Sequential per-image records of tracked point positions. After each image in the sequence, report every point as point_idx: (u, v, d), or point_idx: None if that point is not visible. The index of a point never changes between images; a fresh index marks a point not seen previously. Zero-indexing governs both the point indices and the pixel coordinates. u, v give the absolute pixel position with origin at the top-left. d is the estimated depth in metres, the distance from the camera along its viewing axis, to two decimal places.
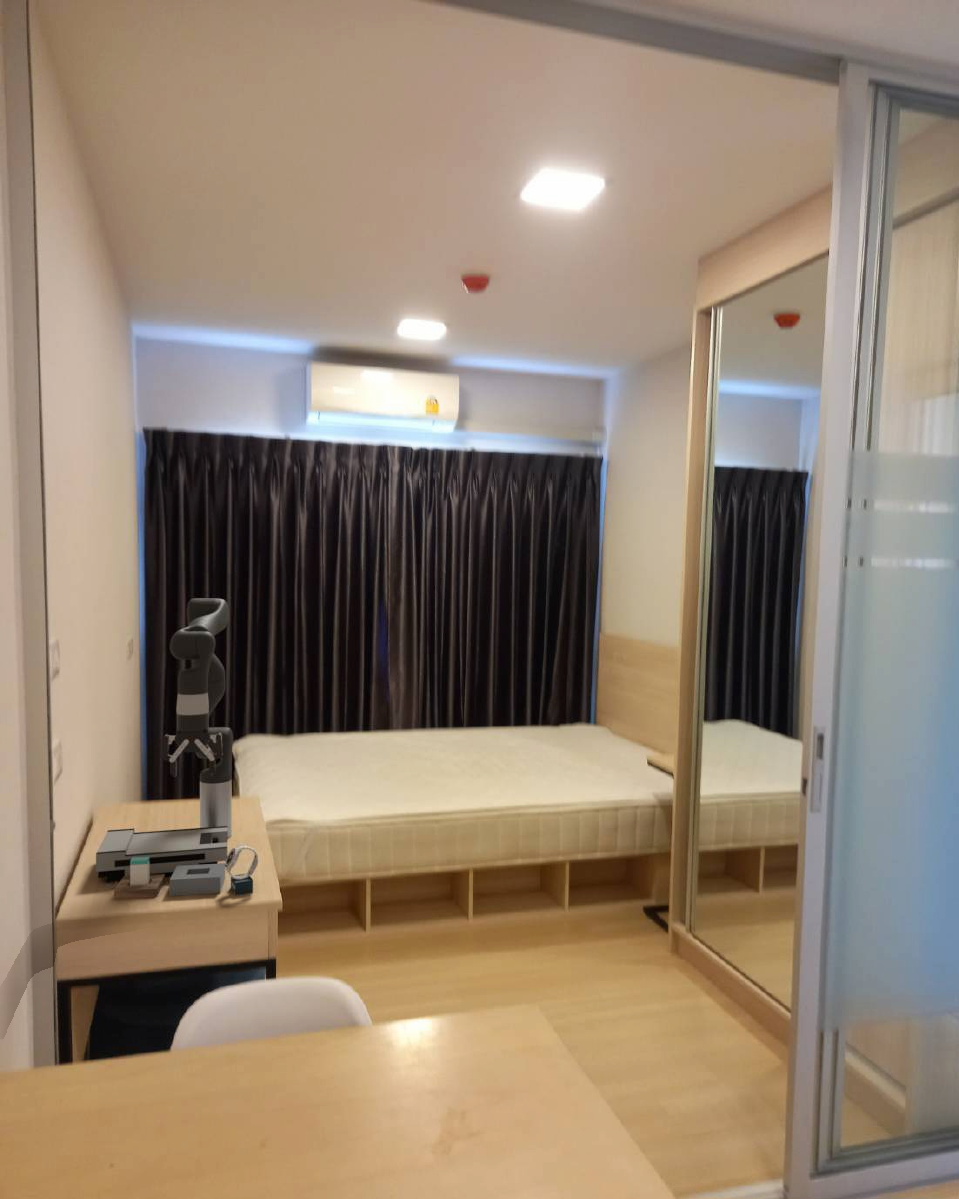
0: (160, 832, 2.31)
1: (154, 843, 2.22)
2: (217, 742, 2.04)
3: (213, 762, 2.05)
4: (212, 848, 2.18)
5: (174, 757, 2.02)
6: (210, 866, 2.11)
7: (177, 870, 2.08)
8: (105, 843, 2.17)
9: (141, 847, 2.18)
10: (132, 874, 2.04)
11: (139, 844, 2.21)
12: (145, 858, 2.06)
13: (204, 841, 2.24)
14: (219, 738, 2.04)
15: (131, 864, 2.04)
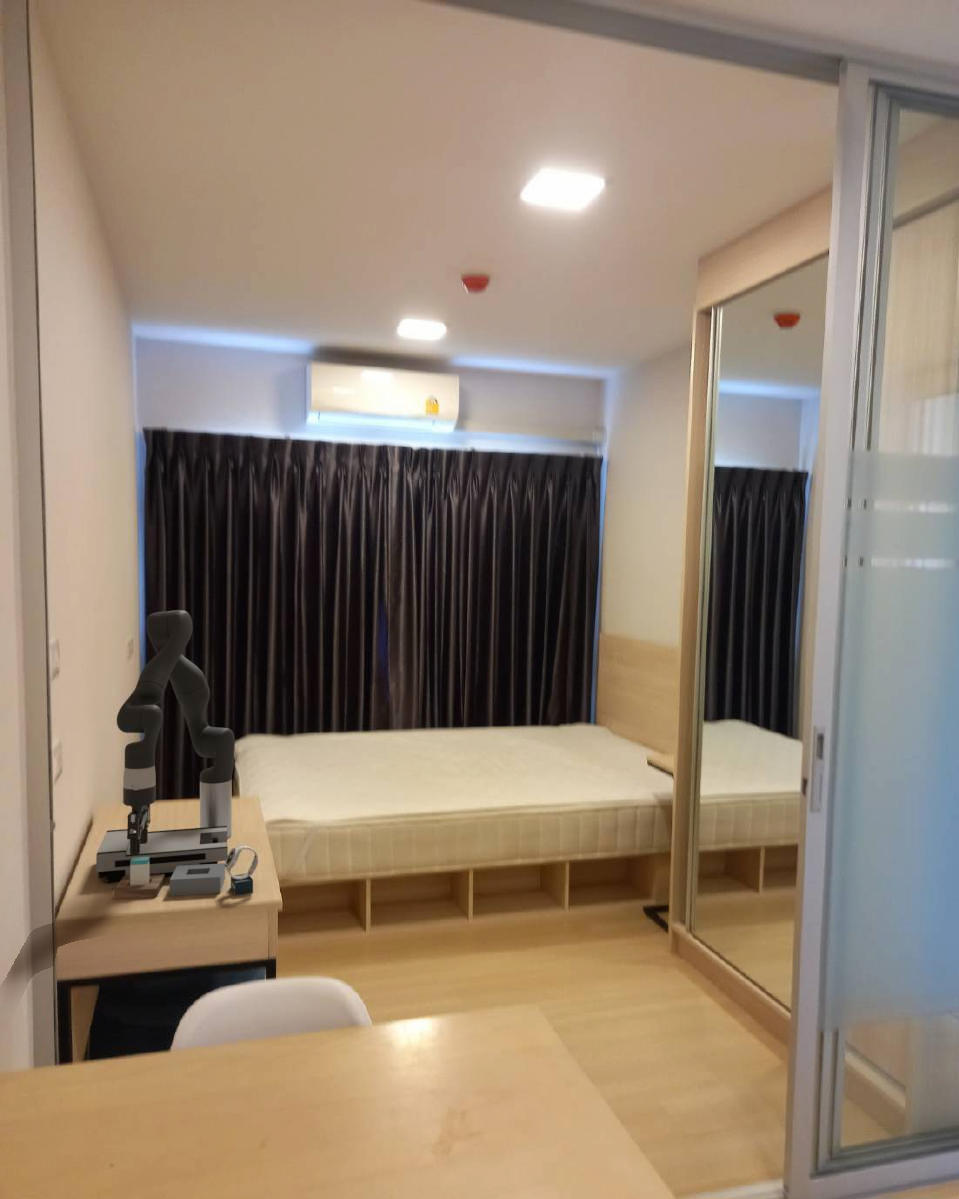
0: (159, 832, 2.31)
1: (154, 843, 2.22)
2: (149, 808, 2.11)
3: None
4: (212, 847, 2.18)
5: (140, 833, 2.01)
6: (210, 866, 2.11)
7: (177, 870, 2.08)
8: (105, 844, 2.17)
9: (141, 847, 2.18)
10: (132, 874, 2.04)
11: None
12: (145, 858, 2.06)
13: (204, 841, 2.24)
14: (149, 804, 2.12)
15: (131, 864, 2.04)
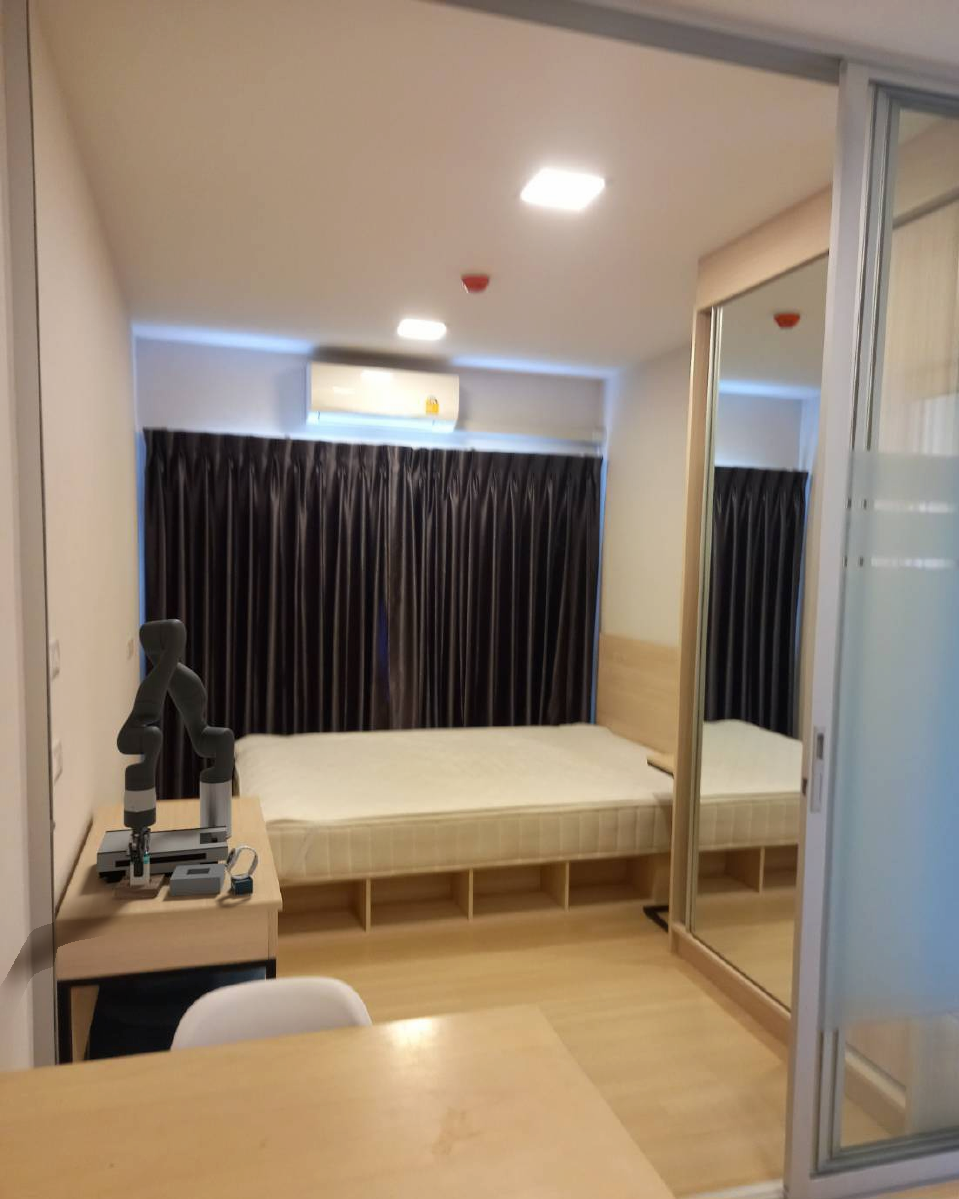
0: (159, 832, 2.31)
1: (154, 843, 2.22)
2: None
3: None
4: (213, 847, 2.19)
5: (143, 855, 2.04)
6: (210, 866, 2.11)
7: (177, 870, 2.08)
8: (105, 844, 2.17)
9: None
10: (132, 874, 2.04)
11: None
12: (145, 858, 2.06)
13: (204, 841, 2.24)
14: None
15: (131, 864, 2.04)
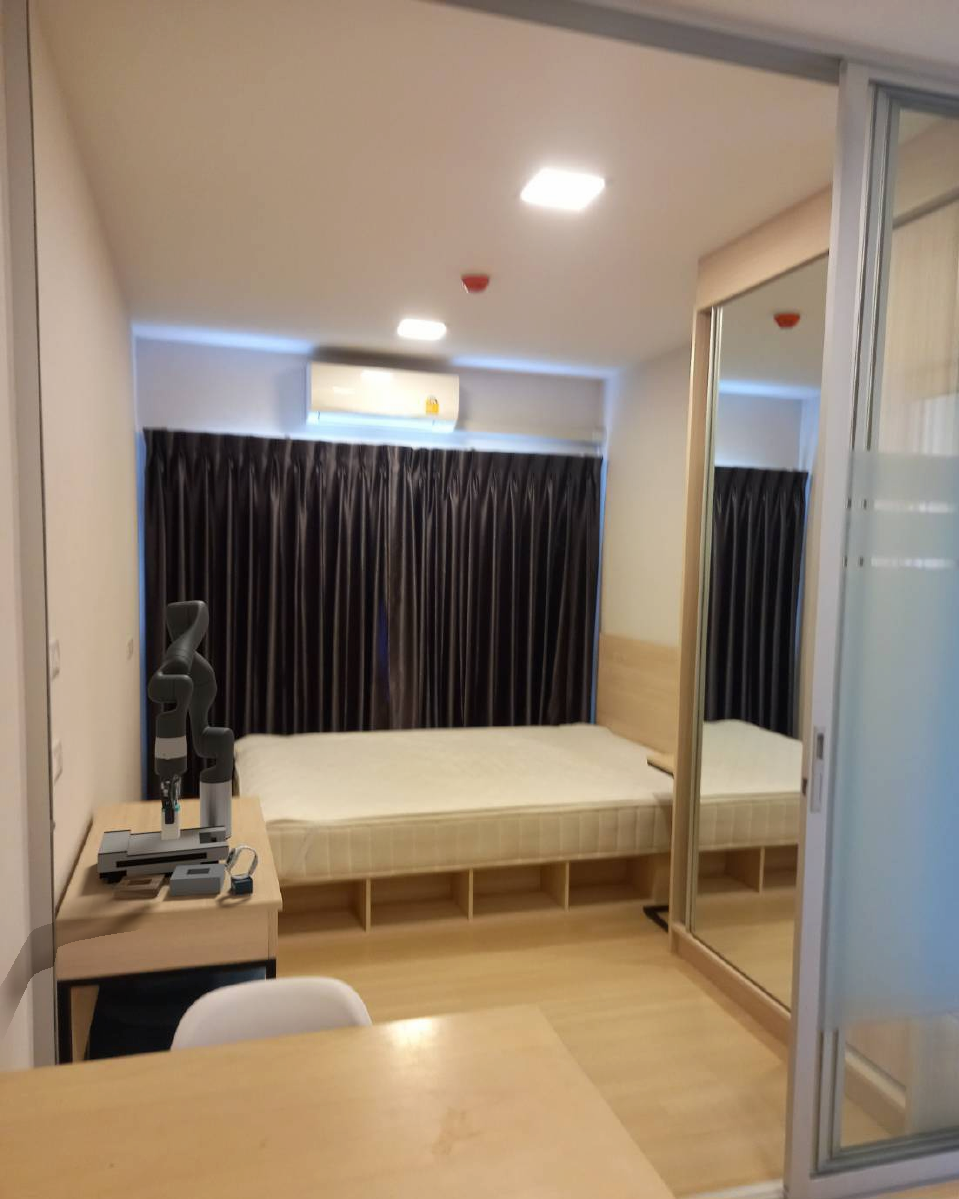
0: (157, 833, 2.31)
1: (154, 843, 2.21)
2: (179, 784, 2.12)
3: None
4: (213, 847, 2.19)
5: (174, 803, 2.05)
6: (210, 866, 2.11)
7: (177, 870, 2.08)
8: (105, 845, 2.16)
9: (141, 848, 2.17)
10: (163, 821, 2.05)
11: (138, 844, 2.20)
12: (176, 806, 2.07)
13: (203, 840, 2.24)
14: (180, 781, 2.13)
15: (162, 811, 2.05)
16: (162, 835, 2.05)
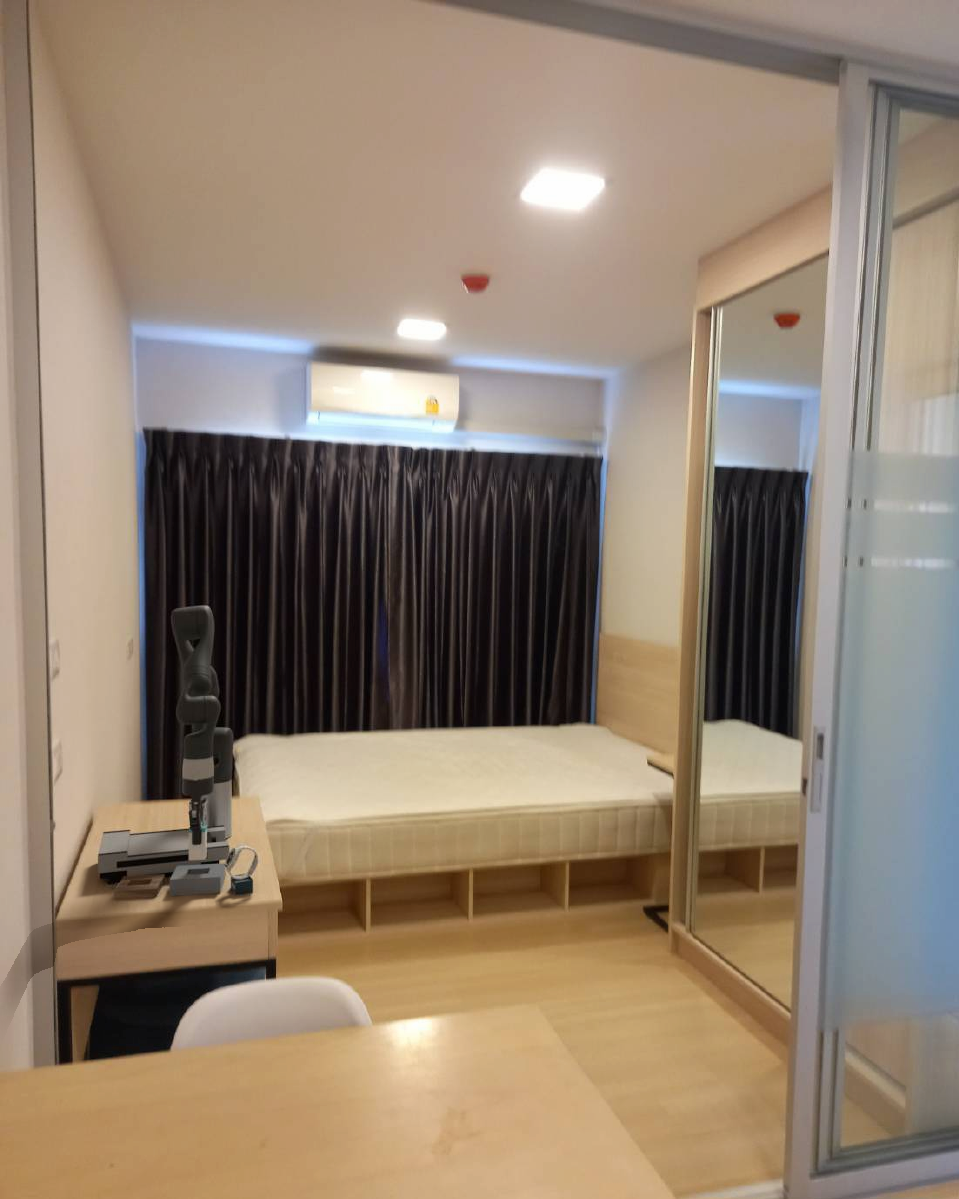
0: (156, 833, 2.31)
1: (153, 843, 2.21)
2: None
3: None
4: (214, 846, 2.19)
5: (201, 823, 2.06)
6: (210, 866, 2.11)
7: (177, 870, 2.08)
8: (105, 845, 2.16)
9: (141, 848, 2.17)
10: (190, 842, 2.06)
11: (138, 845, 2.20)
12: (203, 826, 2.08)
13: None
14: None
15: (189, 832, 2.06)
16: (189, 856, 2.06)
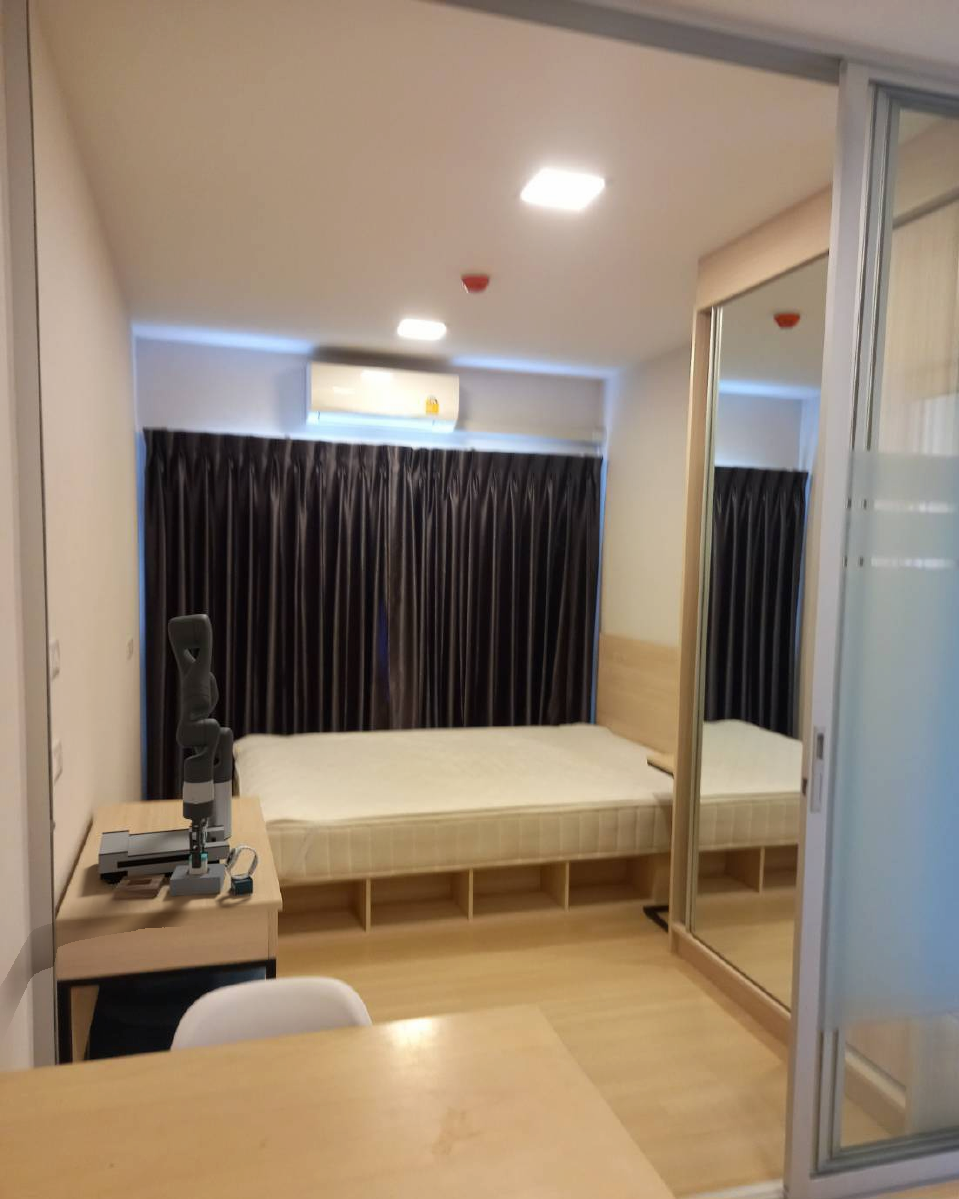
0: (156, 833, 2.30)
1: (153, 843, 2.21)
2: None
3: None
4: (214, 846, 2.19)
5: (201, 847, 2.05)
6: (210, 866, 2.11)
7: (177, 870, 2.08)
8: (104, 845, 2.15)
9: (141, 848, 2.17)
10: (191, 871, 2.07)
11: (138, 845, 2.20)
12: (203, 855, 2.08)
13: None
14: (206, 821, 2.14)
15: (190, 861, 2.06)
16: None
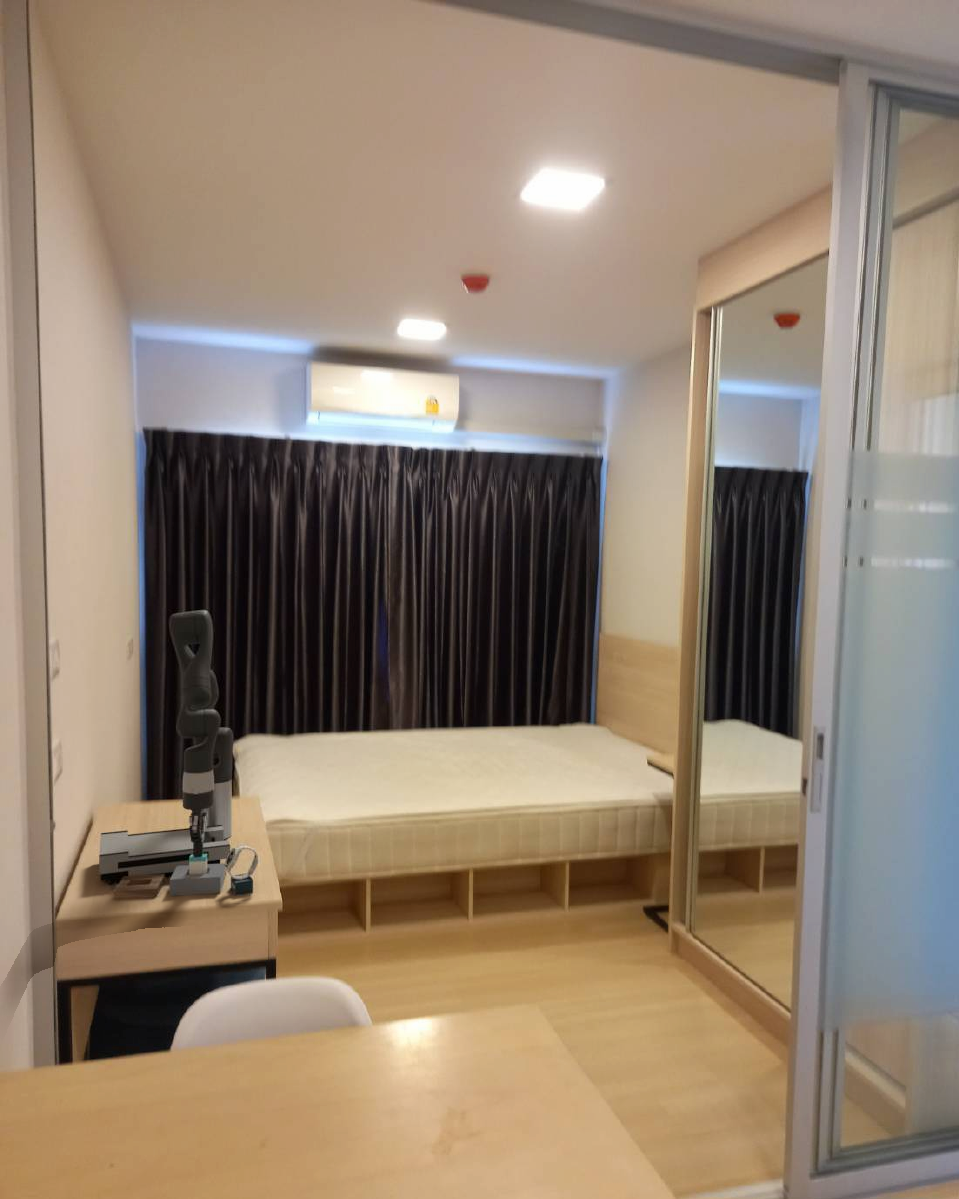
0: (154, 833, 2.30)
1: (153, 843, 2.21)
2: None
3: None
4: (215, 846, 2.20)
5: (202, 836, 2.07)
6: (210, 866, 2.11)
7: (177, 870, 2.08)
8: (104, 846, 2.15)
9: (141, 848, 2.17)
10: (191, 871, 2.07)
11: (137, 845, 2.20)
12: (203, 855, 2.08)
13: (203, 840, 2.25)
14: None
15: (190, 861, 2.06)
16: None
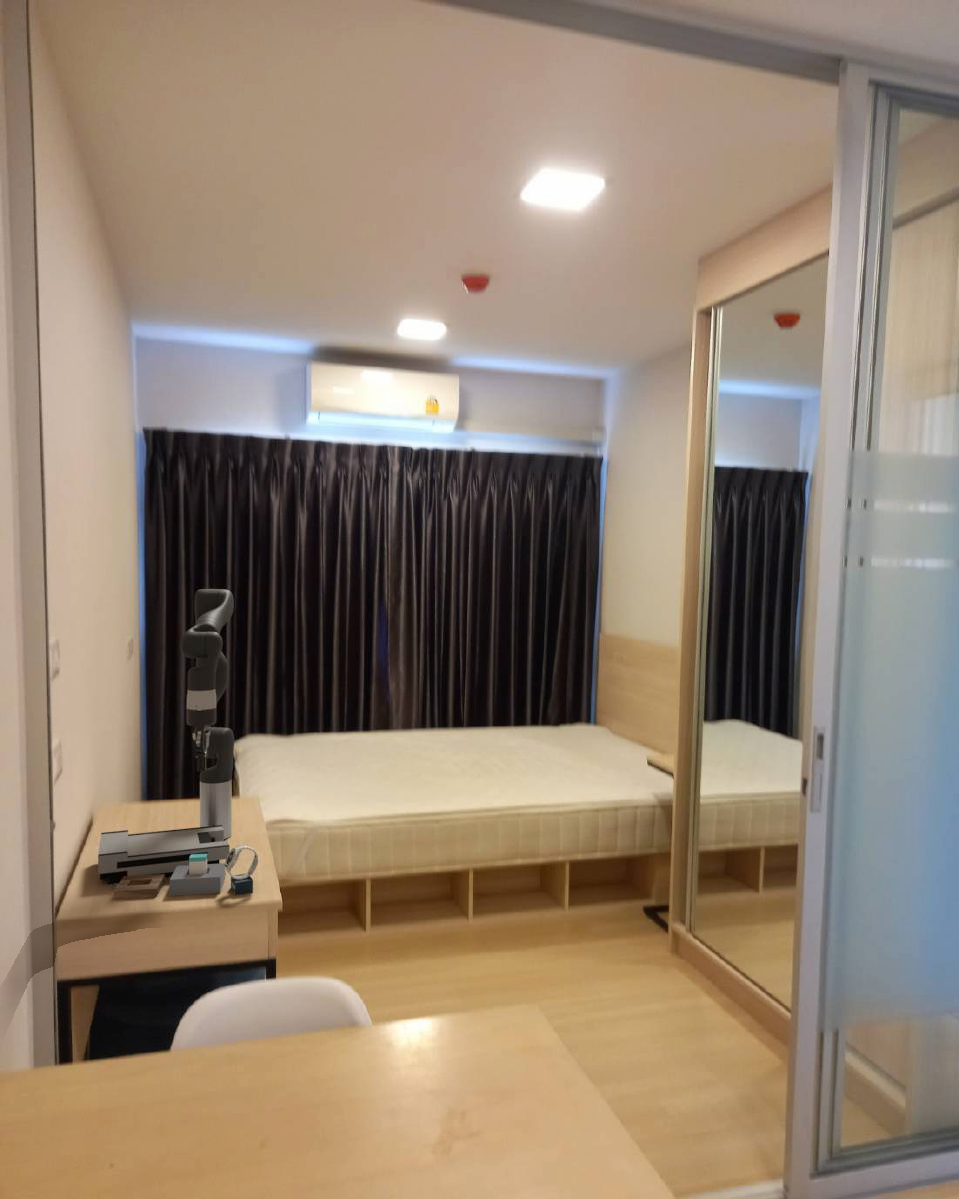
0: (155, 833, 2.30)
1: (153, 843, 2.21)
2: None
3: None
4: (214, 846, 2.19)
5: (205, 751, 2.18)
6: (210, 866, 2.11)
7: (177, 870, 2.08)
8: (104, 845, 2.15)
9: (141, 848, 2.17)
10: (191, 871, 2.06)
11: (137, 845, 2.20)
12: (203, 855, 2.08)
13: (203, 840, 2.24)
14: None
15: (190, 861, 2.06)
16: None
